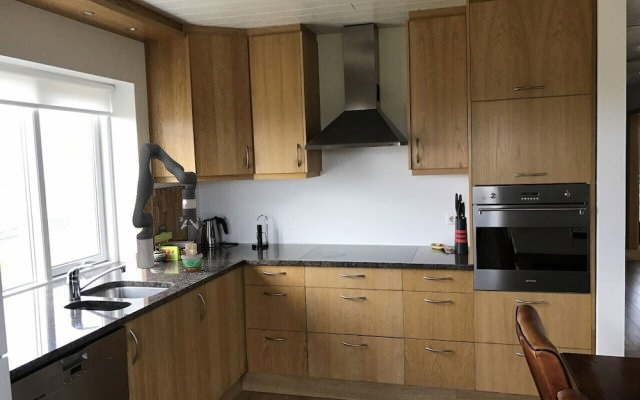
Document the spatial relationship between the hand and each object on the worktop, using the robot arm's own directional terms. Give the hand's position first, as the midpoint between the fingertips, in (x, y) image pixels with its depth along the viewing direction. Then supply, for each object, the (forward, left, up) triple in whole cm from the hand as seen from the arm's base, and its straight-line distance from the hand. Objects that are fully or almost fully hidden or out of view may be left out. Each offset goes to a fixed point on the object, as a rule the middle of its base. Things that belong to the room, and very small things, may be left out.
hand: (190, 235), depth 296 cm
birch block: (0, 0, -11) cm, 11 cm away
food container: (0, 0, -21) cm, 21 cm away
